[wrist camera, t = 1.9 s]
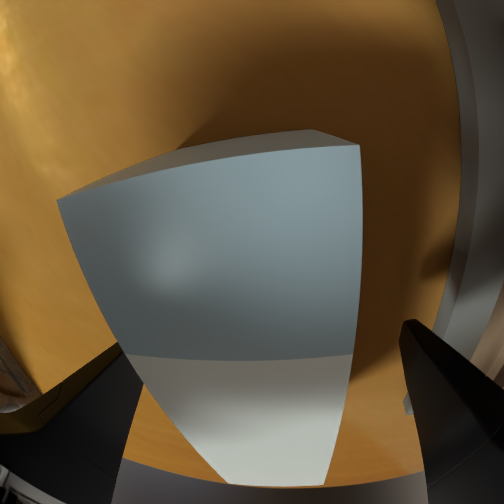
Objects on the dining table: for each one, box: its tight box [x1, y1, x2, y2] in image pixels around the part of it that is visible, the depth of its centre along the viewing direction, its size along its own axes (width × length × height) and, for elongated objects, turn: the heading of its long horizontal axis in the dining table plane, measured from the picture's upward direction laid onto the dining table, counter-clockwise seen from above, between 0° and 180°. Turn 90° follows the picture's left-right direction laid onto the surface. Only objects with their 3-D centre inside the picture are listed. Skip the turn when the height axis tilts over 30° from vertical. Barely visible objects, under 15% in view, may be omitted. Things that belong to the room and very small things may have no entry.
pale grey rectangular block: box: [57, 129, 363, 486], centre depth 8 cm, size 12×4×5 cm, turn 9°
